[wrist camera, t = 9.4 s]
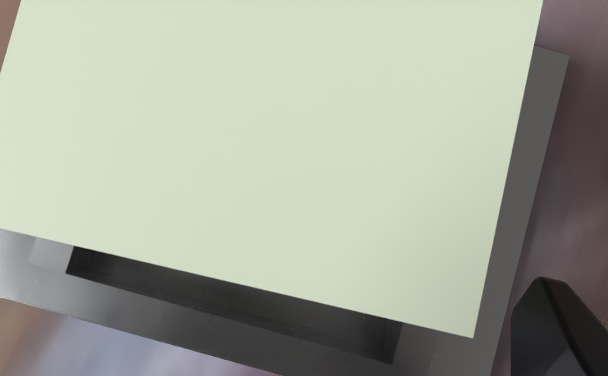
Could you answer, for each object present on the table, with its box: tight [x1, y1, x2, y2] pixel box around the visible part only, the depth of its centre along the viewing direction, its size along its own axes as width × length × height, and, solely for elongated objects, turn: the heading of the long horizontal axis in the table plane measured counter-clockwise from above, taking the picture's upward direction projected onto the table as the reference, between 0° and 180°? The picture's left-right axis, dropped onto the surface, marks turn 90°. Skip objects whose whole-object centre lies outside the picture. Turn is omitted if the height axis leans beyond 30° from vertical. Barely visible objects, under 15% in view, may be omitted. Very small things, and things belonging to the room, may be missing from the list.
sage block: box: [0, 0, 543, 338], centre depth 12 cm, size 5×5×12 cm
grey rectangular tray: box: [0, 45, 570, 376], centre depth 17 cm, size 12×16×3 cm
